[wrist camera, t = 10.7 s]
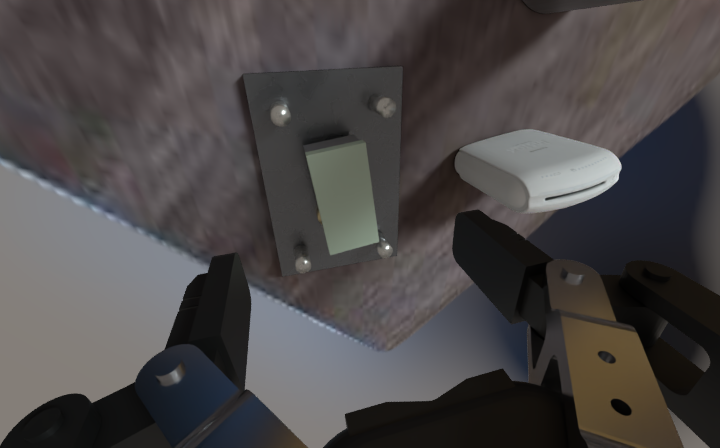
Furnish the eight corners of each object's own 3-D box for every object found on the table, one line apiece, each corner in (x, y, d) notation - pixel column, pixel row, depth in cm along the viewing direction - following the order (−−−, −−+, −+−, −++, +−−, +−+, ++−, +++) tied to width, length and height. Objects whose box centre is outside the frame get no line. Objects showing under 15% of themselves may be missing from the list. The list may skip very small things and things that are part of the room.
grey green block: (354, 132, 29) (365, 142, 26) (368, 223, 34) (379, 241, 31) (301, 143, 28) (306, 155, 25) (323, 234, 33) (330, 255, 30)
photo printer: (533, 123, 36) (643, 151, 25) (529, 158, 38) (629, 198, 28) (452, 144, 35) (533, 184, 24) (453, 180, 37) (527, 230, 26)
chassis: (398, 65, 29) (416, 67, 26) (394, 251, 39) (406, 269, 36) (243, 73, 26) (239, 76, 23) (282, 271, 37) (283, 293, 33)
